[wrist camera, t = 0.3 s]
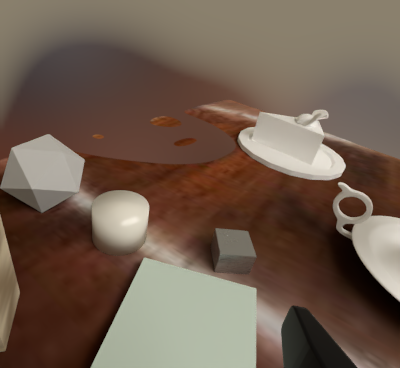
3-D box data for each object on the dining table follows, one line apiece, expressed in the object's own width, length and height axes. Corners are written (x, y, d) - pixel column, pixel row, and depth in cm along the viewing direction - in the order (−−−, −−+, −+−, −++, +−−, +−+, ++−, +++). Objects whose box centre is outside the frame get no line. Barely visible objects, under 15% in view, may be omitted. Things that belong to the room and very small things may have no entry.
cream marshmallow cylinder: (134, 262, 29) (137, 230, 27) (81, 247, 30) (80, 215, 27) (152, 227, 35) (156, 198, 32) (107, 214, 35) (107, 185, 33)
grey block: (248, 275, 31) (256, 256, 29) (214, 273, 30) (220, 254, 29) (241, 249, 34) (247, 231, 33) (210, 246, 34) (215, 228, 32)
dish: (333, 147, 74) (352, 106, 68) (353, 194, 53) (384, 140, 47) (244, 124, 77) (256, 82, 71) (229, 159, 56) (244, 104, 50)
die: (94, 214, 35) (100, 140, 36) (32, 215, 27) (41, 120, 28) (48, 211, 38) (54, 143, 39) (-20, 211, 30) (-11, 126, 31)
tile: (251, 444, 18) (255, 439, 18) (82, 391, 19) (82, 385, 19) (253, 294, 29) (256, 288, 28) (143, 264, 29) (144, 257, 29)
